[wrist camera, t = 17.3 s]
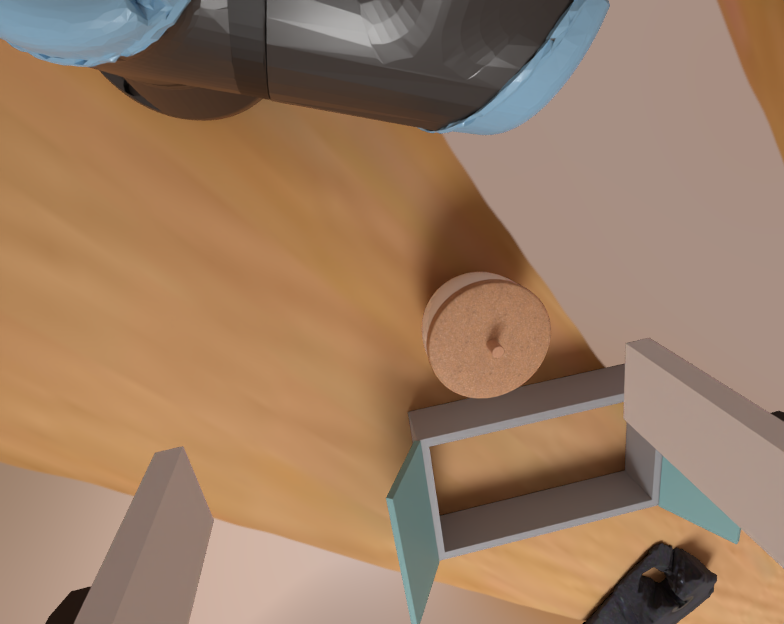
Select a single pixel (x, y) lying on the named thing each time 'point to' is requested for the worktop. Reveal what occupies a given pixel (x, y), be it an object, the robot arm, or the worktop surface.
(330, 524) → the worktop surface
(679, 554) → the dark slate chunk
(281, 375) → the worktop surface
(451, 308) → the lidded jar
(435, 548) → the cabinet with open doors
